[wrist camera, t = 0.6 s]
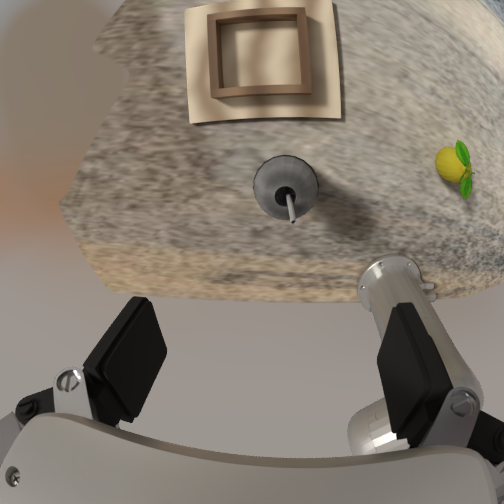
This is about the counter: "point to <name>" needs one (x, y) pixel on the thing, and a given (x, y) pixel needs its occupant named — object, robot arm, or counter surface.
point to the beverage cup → (286, 187)
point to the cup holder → (262, 60)
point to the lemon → (455, 166)
